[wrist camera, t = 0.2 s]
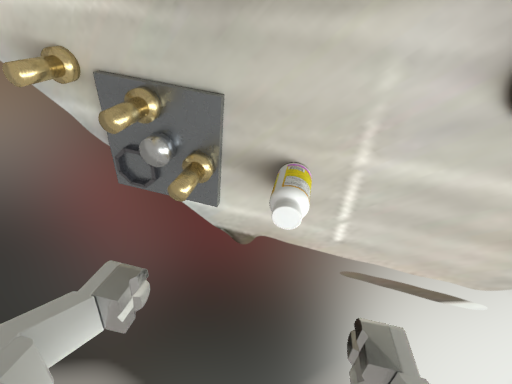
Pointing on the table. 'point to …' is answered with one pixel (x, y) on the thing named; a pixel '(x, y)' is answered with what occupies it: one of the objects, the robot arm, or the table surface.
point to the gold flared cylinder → (43, 68)
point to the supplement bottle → (291, 195)
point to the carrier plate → (176, 123)
